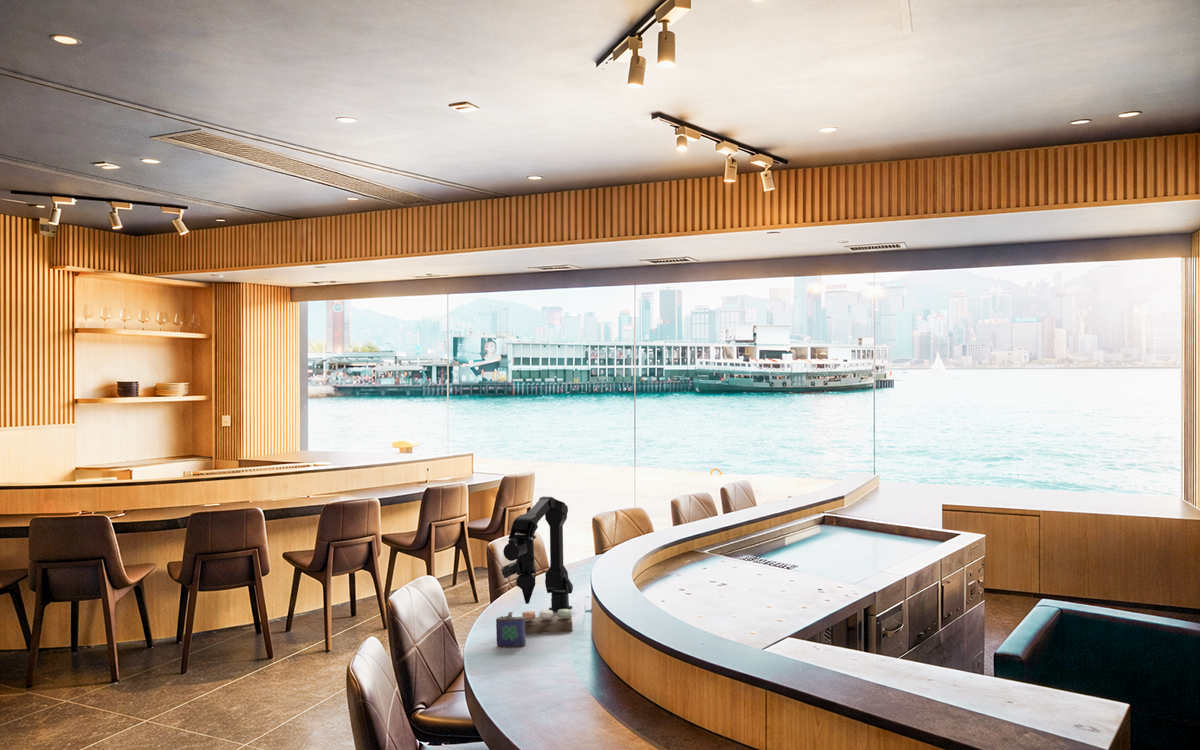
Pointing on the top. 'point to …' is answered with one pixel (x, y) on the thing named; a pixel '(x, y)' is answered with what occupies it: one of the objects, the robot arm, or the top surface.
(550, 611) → the button cream
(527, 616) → the button terracotta
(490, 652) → the top surface
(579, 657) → the top surface
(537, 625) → the console
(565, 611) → the button sage
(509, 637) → the flask
